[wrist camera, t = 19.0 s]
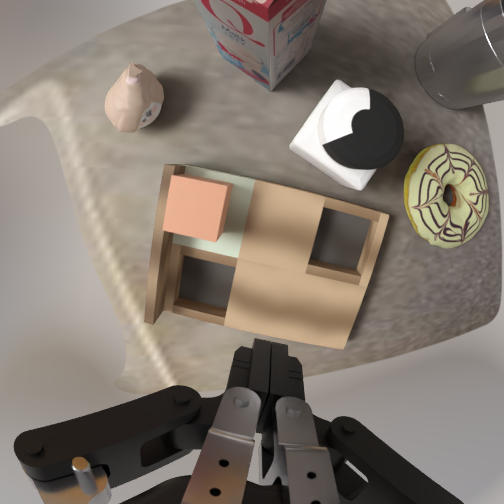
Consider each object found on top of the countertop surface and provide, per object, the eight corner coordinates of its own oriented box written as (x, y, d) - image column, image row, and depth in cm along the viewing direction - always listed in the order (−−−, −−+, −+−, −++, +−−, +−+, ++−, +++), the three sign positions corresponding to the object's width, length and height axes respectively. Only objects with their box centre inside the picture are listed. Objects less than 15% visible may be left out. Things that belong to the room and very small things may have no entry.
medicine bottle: (378, 134, 30) (430, 121, 18) (343, 186, 32) (381, 198, 20) (324, 94, 29) (351, 58, 17) (287, 147, 31) (296, 136, 19)
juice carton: (270, 91, 29) (266, -29, 8) (222, 57, 28) (153, -72, 7) (310, 50, 28) (355, -86, 7) (261, 17, 27) (245, -127, 6)
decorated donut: (447, 259, 33) (464, 269, 29) (379, 208, 32) (393, 214, 28) (487, 183, 30) (507, 187, 26) (424, 125, 29) (442, 122, 25)
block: (184, 173, 30) (171, 175, 26) (233, 183, 30) (227, 186, 26) (175, 222, 31) (162, 230, 27) (222, 232, 31) (215, 242, 27)
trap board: (183, 164, 32) (164, 164, 26) (381, 211, 32) (402, 221, 26) (162, 299, 36) (144, 322, 31) (339, 338, 36) (349, 366, 30)
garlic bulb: (179, 117, 31) (152, 104, 23) (129, 142, 32) (92, 138, 24) (161, 68, 29) (132, 45, 21) (113, 94, 30) (75, 80, 22)
